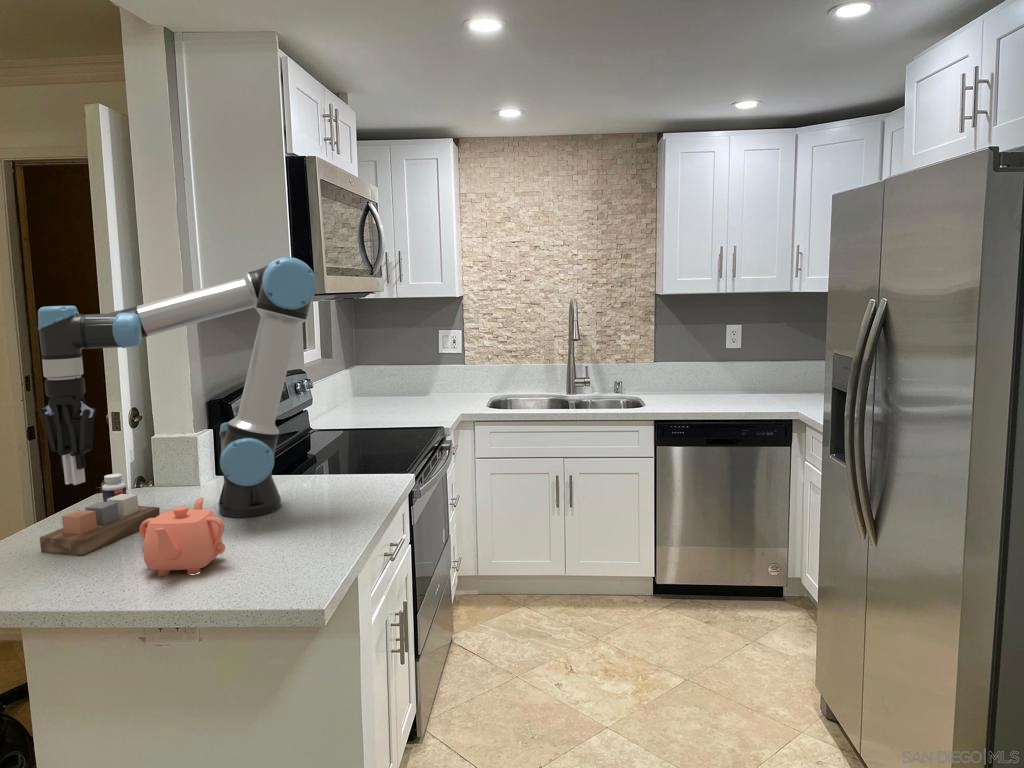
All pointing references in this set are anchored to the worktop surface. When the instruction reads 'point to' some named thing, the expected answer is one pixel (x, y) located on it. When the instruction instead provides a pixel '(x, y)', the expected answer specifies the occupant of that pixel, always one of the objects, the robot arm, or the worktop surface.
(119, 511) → the cream cube
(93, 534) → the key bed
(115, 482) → the pill bottle
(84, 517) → the salmon orange cube
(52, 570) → the worktop surface
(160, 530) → the teapot
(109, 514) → the slate key
